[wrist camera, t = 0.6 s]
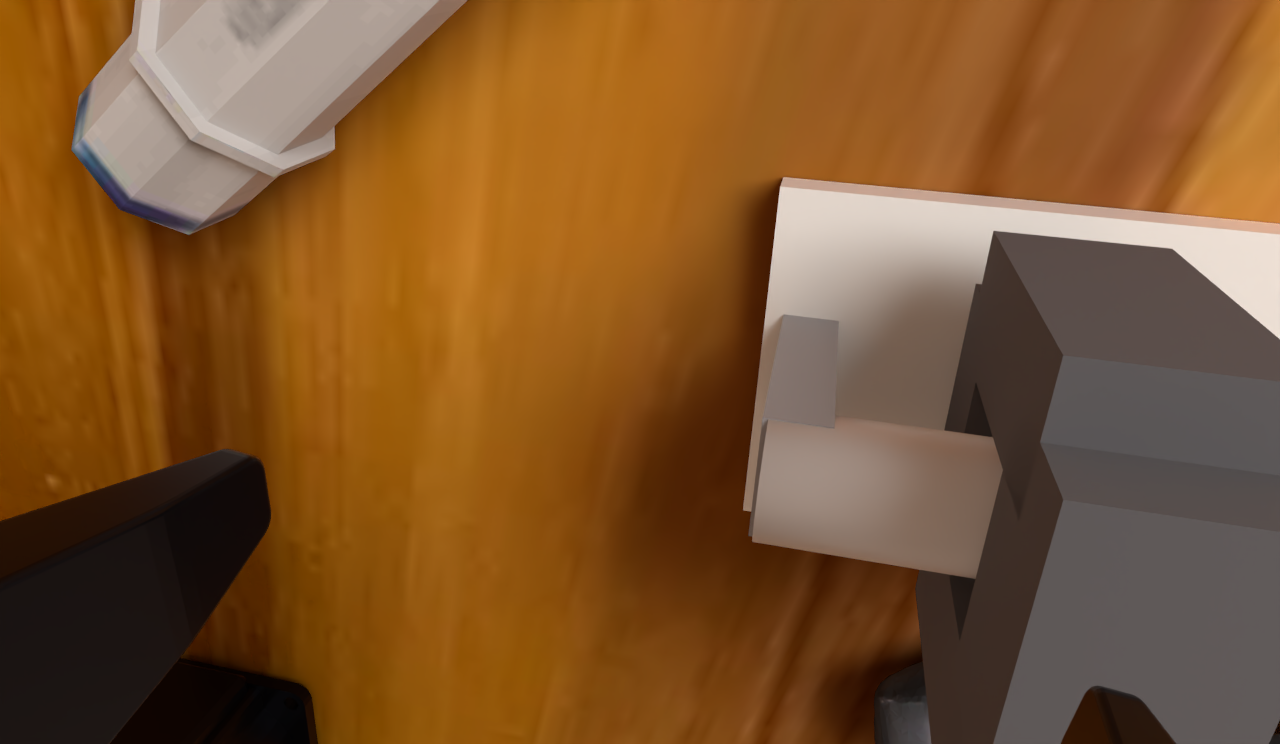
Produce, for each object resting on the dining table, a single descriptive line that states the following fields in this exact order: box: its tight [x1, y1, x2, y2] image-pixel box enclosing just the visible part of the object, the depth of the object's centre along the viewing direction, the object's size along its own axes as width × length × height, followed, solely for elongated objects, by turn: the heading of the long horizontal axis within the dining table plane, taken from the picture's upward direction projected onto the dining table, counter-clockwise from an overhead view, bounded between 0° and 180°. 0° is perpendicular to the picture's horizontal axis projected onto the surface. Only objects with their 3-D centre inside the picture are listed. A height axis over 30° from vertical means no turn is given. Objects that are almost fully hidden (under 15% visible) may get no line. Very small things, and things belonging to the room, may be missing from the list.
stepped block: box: [915, 231, 1280, 744], centre depth 15 cm, size 8×3×8 cm, turn 177°
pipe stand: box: [743, 177, 1280, 579], centre depth 16 cm, size 8×19×7 cm, turn 87°
